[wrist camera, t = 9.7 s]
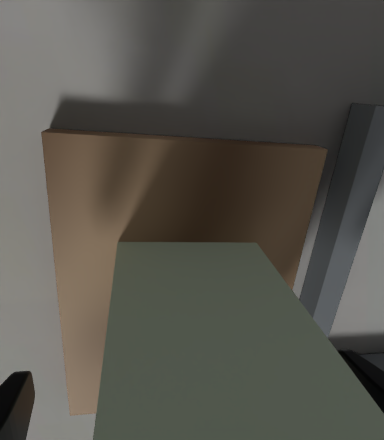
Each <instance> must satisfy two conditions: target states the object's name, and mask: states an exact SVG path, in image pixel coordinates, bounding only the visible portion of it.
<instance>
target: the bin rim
mask: <svg viewBox="0 0 384 440" xmlns="http://www.w3.org/2000/svg"><path fill="white" fill-rule="evenodd" d="M383 170H384V106H377V105H366V104H355V103H352V106H351V110H350V113H349V117H348V121H347V125H346V128H345V132H344V136H343V140H342V143H341V147H340V151H339V154H338V158H337V162H336V166H335V169H334V173H333V177H332V181H331V184H330V188H329V192H328V195H327V199H326V203H325V207H324V210H323V214H322V218H321V222H320V225H319V229H318V233H317V236H316V240H315V244H314V248H313V251H312V255H311V259H310V263H309V266H308V270H307V274H306V277H305V281H304V285H303V289H302V292H301V296H300V302H301V303H302V304H303V306H304V307H305V308H306V310H307V311H308V313H309V314H310V315H311V317H312V318H313V319H314V321H315V322H316V323H317V325H318V326H319V327H320V329H321V330H322V331H323V333H324V334H325V335H326V337H327V338H328V336H329V333H330V330H331V327H332V324H333V321H334V318H335V315H336V312H337V309H338V306H339V303H340V300H341V297H342V294H343V290H344V287H345V284H346V281H347V278H348V275H349V272H350V269H351V266H352V263H353V260H354V257H355V254H356V251H357V248H358V245H359V242H360V239H361V236H362V233H363V230H364V227H365V224H366V221H367V218H368V215H369V212H370V209H371V206H372V203H373V200H374V197H375V194H376V191H377V188H378V185H379V182H380V179H381V176H382V173H383ZM360 356H362V357H363V358H365V359H366V360H368V361H369V362H371V363H372V364H374V365H375V366H377V367H378V368H380V369H382V370H383V371H384V353H377V354H363V355H360Z"/></svg>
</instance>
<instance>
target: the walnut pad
mask: <svg viewBox="0 0 384 440" xmlns="http://www.w3.org/2000/svg"><path fill="white" fill-rule="evenodd" d="M41 133H42V143H43V153H44V163H45V173H46V183H47V193H48V202H49V212H50V222H51V232H52V242H53V252H54V262H55V272H56V282H57V292H58V302H59V312H60V322H61V332H62V341H63V351H64V361H65V371H66V381H67V391H68V401H69V411H70V416H72V415H82V414H93V413H96V412H97V404H98V396H99V388H100V380H101V371H102V363H103V355H104V347H105V339H106V331H107V323H108V315H109V307H110V299H111V291H112V283H113V275H114V267H115V258H116V250H117V242H230V243H257V244H258V245H259V247H260V248H261V249H262V251H263V252H264V253H265V255H266V256H267V257H268V259H269V260H270V261H271V263H272V264H273V265H274V267H275V268H276V270H277V271H278V272H279V274H280V275H281V276H282V278H283V279H284V280H285V282H286V283H287V284H288V286H289V287H290V288H291V290H292V289H293V285H294V281H295V277H296V273H297V269H298V265H299V261H300V257H301V254H302V250H303V246H304V242H305V238H306V234H307V230H308V226H309V222H310V218H311V214H312V210H313V206H314V202H315V198H316V194H317V190H318V186H319V183H320V179H321V175H322V171H323V167H324V163H325V159H326V155H327V151H328V150H327V149H325V148H322V147H319V146H316V145H303V144H287V143H271V142H255V141H240V140H224V139H208V138H192V137H176V136H161V135H145V134H129V133H113V132H98V131H82V130H66V129H50V128H48V129H47V130H45V131H43V132H41Z"/></svg>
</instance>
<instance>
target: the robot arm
mask: <svg viewBox="0 0 384 440" xmlns="http://www.w3.org/2000/svg"><path fill="white" fill-rule="evenodd" d="M338 353H339V354H340V355H341V357H342V358H343V360H344V361H345V362H346V364H347V365H348V366H349V368H350V369H351V370H352V372H353V373H354V374H355V376H356V377H357V378H358V380H359V381H360V382H361V384H362V385H363V386H364V388H365V389H366V390H367V392H368V393H369V394H370V396H371V397H372V398H373V400H374V401H375V403H376V404H377V405H378V407H379V408H380V409H381V411H382V412H383V413H384V371H383V370H382V369H380V368H378V367H377V366H375V365H374V364H372V363H371V362H369V361H368V360H366V359H365V358H363V357H362V356H360V355H359V354H357V353H356V352H354V351H352V350H349V349H347V350H338ZM34 399H35V391H34V384H33V378H32V373H31V372H30V371H19V372H14V373H12V374H11V375H10V376H9V377H8V378H7V379H6V380H5V381H4V382H3V383H2V384H1V385H0V440H26V436H27V431H28V427H29V422H30V418H31V413H32V409H33V404H34Z"/></svg>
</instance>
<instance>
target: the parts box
mask: <svg viewBox="0 0 384 440" xmlns="http://www.w3.org/2000/svg"><path fill="white" fill-rule="evenodd" d="M93 440H384V413H383V412H382V411H381V409H380V408H379V407H378V405H377V404H376V403H375V401H374V400H373V398H372V397H371V396H370V394H369V393H368V392H367V390H366V389H365V388H364V386H363V385H362V384H361V382H360V381H359V380H358V378H357V377H356V376H355V374H354V373H353V372H352V370H351V369H350V368H349V366H348V365H347V364H346V362H345V361H344V360H343V358H342V357H341V355H340V354H339V353H338V351H337V350H336V349H335V347H334V346H333V345H332V343H331V342H330V341H329V339H328V338H327V337H326V335H325V334H324V333H323V331H322V330H321V329H320V327H319V326H318V325H317V323H316V322H315V321H314V319H313V318H312V317H311V315H310V314H309V313H308V311H307V310H306V308H305V307H304V306H303V304H302V303H301V302H300V300H299V299H298V298H297V296H296V295H295V294H294V292H293V291H292V290H291V288H290V287H289V286H288V284H287V283H286V282H285V280H284V279H283V278H282V276H281V275H280V274H279V272H278V271H277V270H276V268H275V267H274V265H273V264H272V263H271V261H270V260H269V259H268V257H267V256H266V255H265V253H264V252H263V251H262V249H261V248H260V247H259V245H258V244H257V243H230V242H117V250H116V258H115V267H114V275H113V283H112V291H111V299H110V307H109V315H108V323H107V331H106V339H105V347H104V355H103V363H102V371H101V380H100V388H99V396H98V404H97V412H96V420H95V428H94V436H93Z"/></svg>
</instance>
